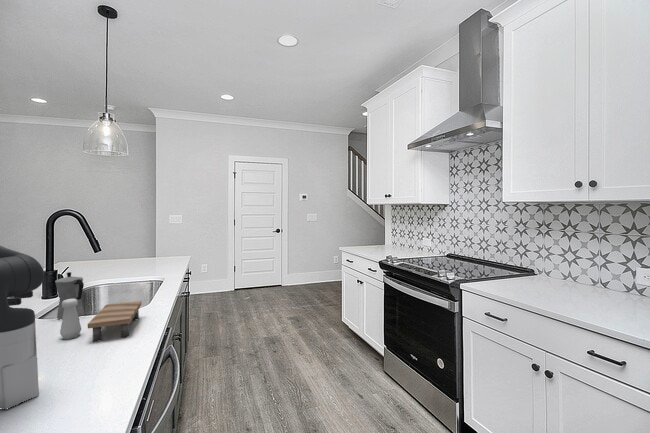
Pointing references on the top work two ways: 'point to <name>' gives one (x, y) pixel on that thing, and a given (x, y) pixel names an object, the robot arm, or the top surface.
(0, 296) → the robot arm
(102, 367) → the top surface
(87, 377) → the top surface
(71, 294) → the coffeepot
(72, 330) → the salt shaker
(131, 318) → the slatted wooden bench
